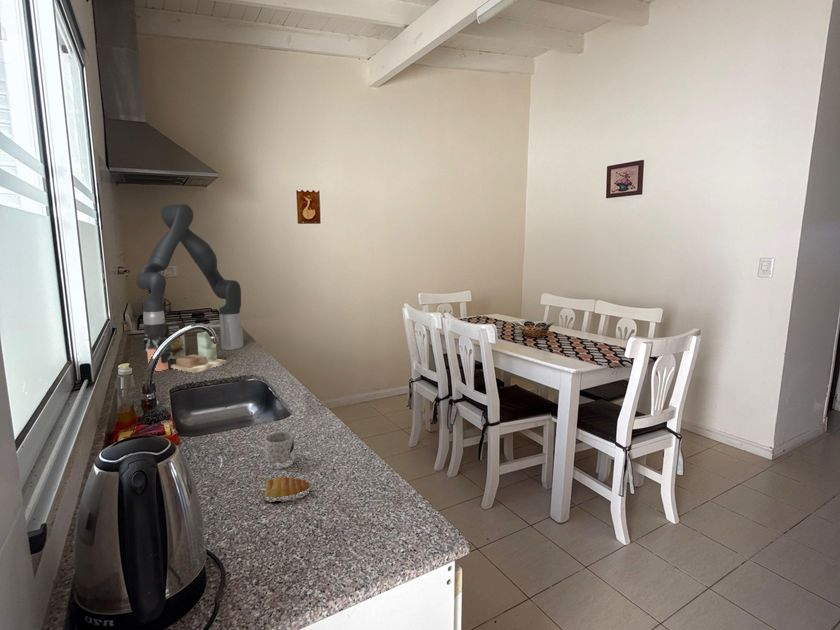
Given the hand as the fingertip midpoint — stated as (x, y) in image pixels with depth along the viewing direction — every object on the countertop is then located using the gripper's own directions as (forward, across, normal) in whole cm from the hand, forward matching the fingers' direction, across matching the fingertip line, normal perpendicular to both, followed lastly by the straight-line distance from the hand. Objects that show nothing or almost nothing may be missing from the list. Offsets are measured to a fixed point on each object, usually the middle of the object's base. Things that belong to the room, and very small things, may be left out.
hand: (157, 361), depth 195 cm
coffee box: (+4, +13, -16) cm, 21 cm away
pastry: (+5, -111, +49) cm, 122 cm away
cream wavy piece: (+4, -9, -12) cm, 16 cm away
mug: (+4, -99, +38) cm, 106 cm away
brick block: (+4, 0, 0) cm, 4 cm away
